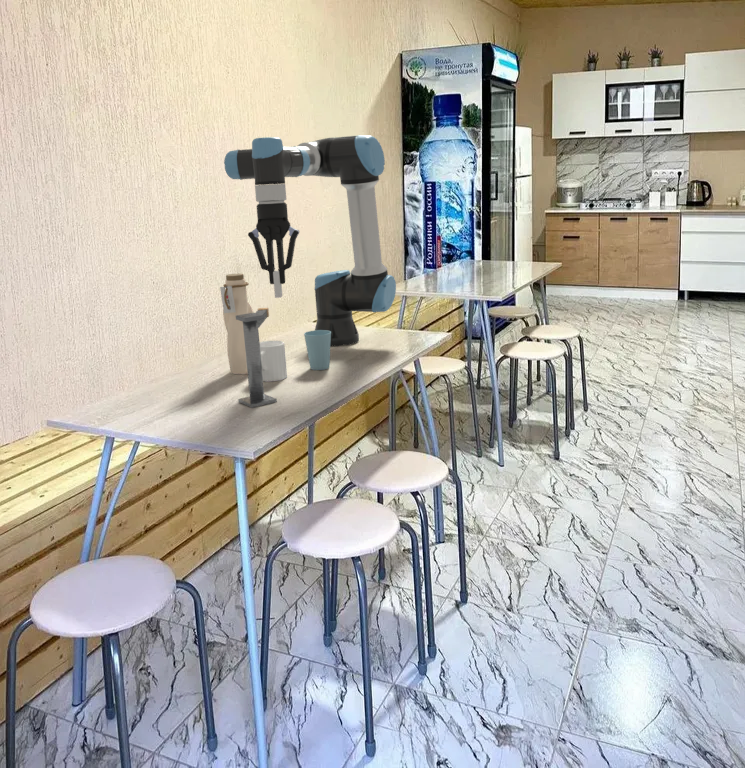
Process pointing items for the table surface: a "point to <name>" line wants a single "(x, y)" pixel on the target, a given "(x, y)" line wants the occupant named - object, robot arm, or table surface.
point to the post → (253, 361)
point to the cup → (318, 348)
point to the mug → (273, 360)
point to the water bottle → (232, 306)
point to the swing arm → (264, 312)
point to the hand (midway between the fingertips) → (278, 296)
